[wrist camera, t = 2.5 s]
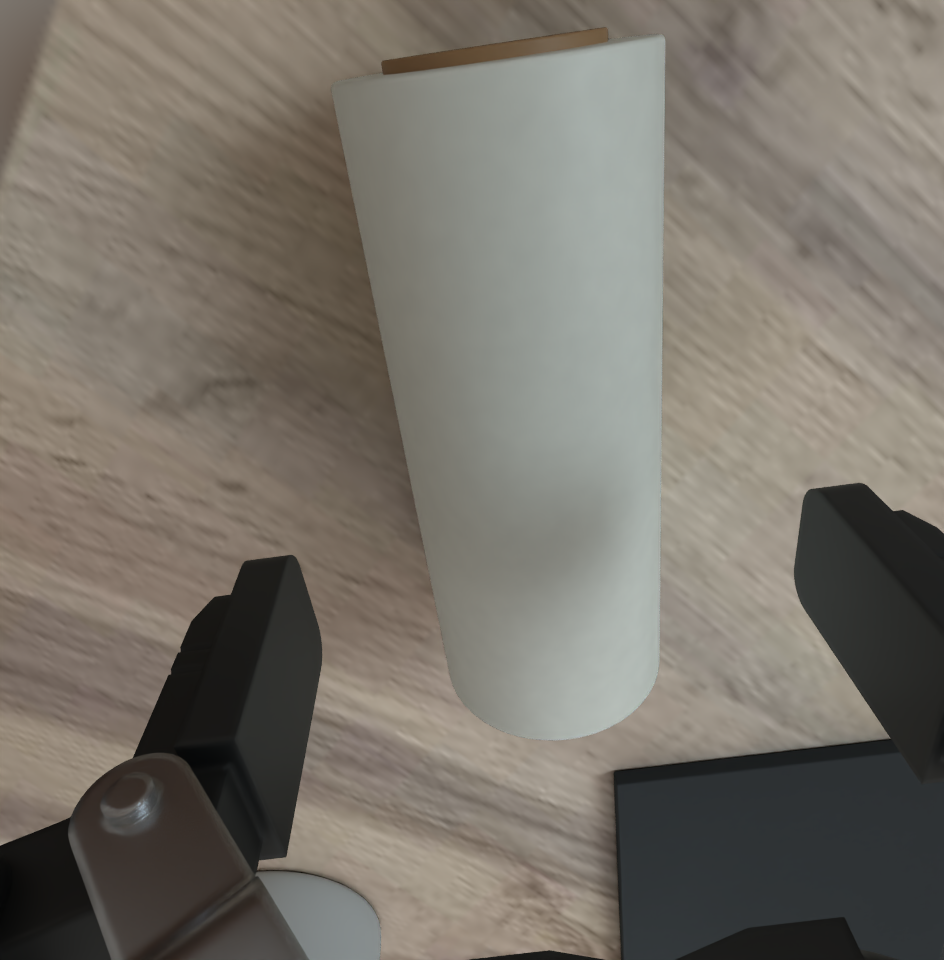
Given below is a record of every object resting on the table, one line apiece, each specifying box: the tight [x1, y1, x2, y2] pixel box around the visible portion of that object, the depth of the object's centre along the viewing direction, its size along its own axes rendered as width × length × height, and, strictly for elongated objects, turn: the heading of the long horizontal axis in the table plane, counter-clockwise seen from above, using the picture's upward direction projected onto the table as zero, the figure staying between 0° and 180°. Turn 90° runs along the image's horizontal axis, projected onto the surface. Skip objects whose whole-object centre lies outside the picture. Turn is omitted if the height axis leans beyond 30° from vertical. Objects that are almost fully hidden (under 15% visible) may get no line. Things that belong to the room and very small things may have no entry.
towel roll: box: [331, 27, 665, 740], centre depth 16 cm, size 6×14×6 cm, turn 7°
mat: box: [614, 740, 944, 960], centre depth 30 cm, size 20×18×1 cm
